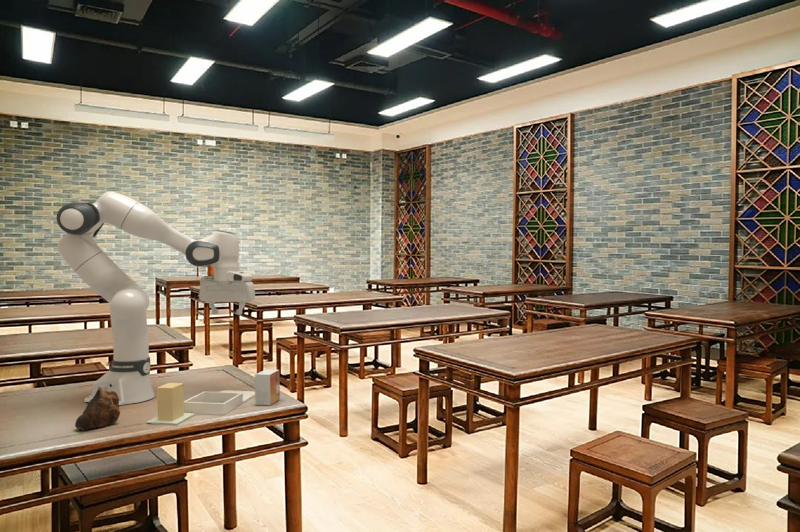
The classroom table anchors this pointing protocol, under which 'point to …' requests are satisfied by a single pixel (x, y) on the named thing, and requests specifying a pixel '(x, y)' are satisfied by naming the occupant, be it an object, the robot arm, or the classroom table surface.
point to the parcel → (170, 401)
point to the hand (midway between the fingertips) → (227, 314)
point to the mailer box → (216, 402)
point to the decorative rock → (100, 411)
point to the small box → (267, 387)
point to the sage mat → (175, 422)
